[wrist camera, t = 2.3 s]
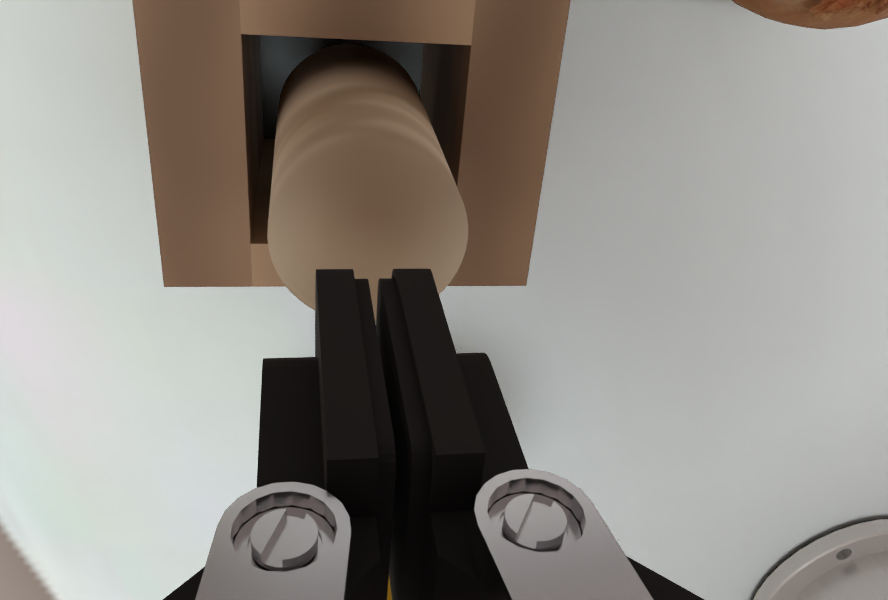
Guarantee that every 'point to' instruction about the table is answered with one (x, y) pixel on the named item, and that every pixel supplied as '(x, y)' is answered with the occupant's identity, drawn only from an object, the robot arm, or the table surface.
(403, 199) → the peg birch
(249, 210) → the socket block
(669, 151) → the table surface
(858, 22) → the onion
